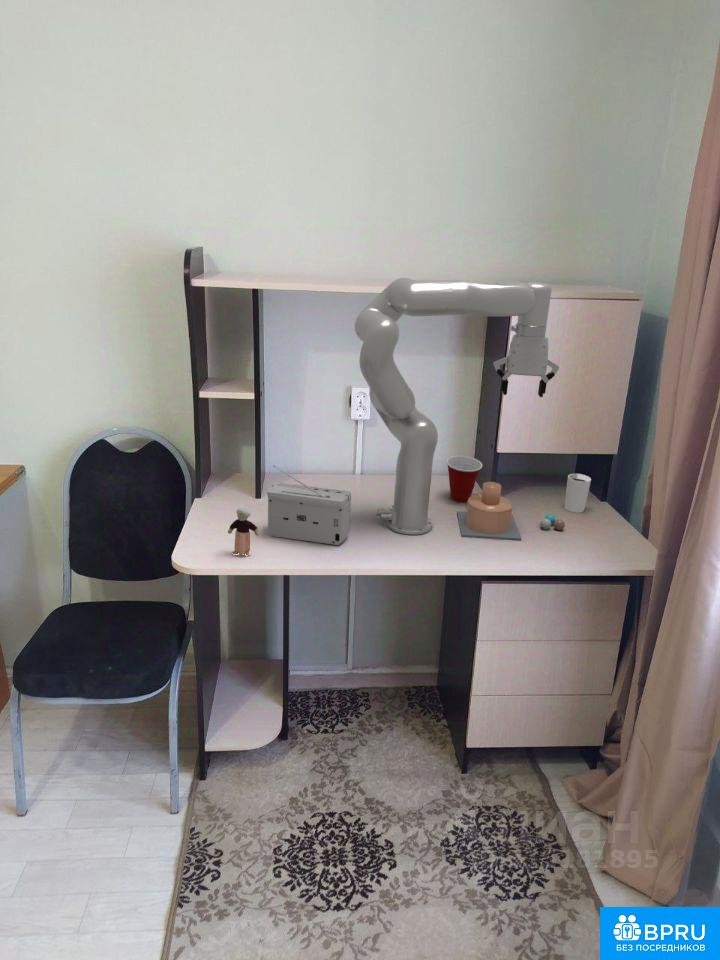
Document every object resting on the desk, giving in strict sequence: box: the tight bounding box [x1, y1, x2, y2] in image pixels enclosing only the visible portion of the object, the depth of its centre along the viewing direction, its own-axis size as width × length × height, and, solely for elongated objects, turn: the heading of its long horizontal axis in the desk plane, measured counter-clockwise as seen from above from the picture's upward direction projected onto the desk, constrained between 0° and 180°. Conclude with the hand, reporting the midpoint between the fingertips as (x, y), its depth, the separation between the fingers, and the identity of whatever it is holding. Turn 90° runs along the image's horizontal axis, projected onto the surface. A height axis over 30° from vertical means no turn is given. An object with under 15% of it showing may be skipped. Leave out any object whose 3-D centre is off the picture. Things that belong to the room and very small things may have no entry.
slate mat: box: [456, 510, 522, 541], centre depth 203 cm, size 16×16×1 cm
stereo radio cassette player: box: [267, 464, 352, 546], centre depth 188 cm, size 21×8×20 cm, turn 78°
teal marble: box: [544, 513, 557, 526], centre depth 207 cm, size 3×3×3 cm
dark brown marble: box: [553, 519, 566, 531], centre depth 203 cm, size 3×3×3 cm
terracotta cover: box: [465, 481, 513, 534], centre depth 201 cm, size 12×12×12 cm
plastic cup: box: [446, 455, 483, 503], centre depth 219 cm, size 11×11×12 cm
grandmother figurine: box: [227, 506, 260, 555], centre depth 178 cm, size 8×4×13 cm, turn 95°
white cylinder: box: [564, 473, 592, 514], centre depth 217 cm, size 7×7×10 cm
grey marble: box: [539, 517, 552, 530], centre depth 203 cm, size 3×3×3 cm
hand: (522, 394), depth 197 cm, fingers open, 9 cm apart
